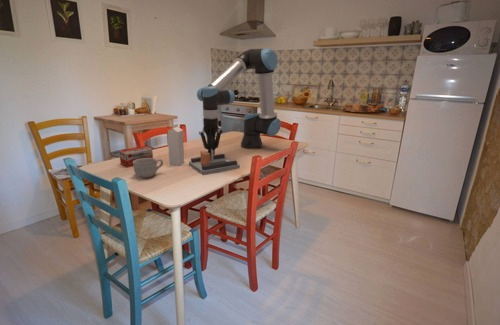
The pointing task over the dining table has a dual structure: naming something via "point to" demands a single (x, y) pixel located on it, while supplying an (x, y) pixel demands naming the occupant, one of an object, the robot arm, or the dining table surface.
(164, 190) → the dining table surface
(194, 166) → the panel
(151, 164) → the teacup
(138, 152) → the medicine box
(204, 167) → the set of dark strips
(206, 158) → the orange rectangular block
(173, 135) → the milk
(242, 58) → the robot arm
